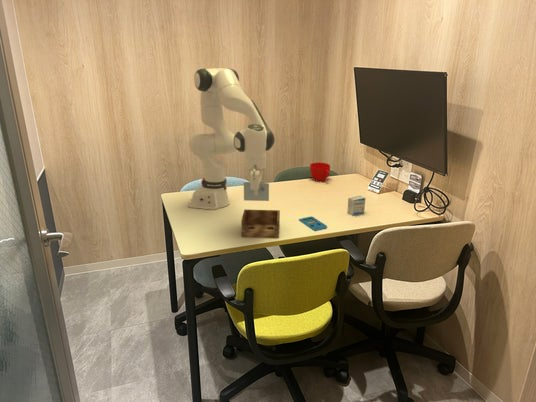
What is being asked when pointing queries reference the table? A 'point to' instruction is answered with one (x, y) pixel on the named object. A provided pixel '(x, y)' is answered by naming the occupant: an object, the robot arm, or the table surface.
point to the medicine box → (356, 205)
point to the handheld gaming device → (313, 223)
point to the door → (262, 192)
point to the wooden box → (261, 223)
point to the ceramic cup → (319, 171)
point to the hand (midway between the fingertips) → (256, 193)
